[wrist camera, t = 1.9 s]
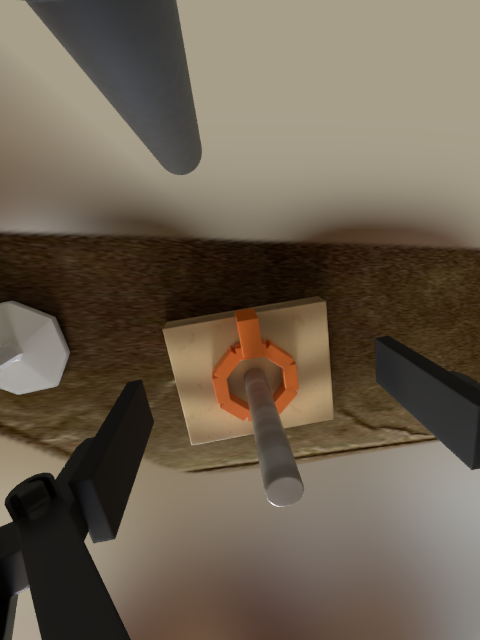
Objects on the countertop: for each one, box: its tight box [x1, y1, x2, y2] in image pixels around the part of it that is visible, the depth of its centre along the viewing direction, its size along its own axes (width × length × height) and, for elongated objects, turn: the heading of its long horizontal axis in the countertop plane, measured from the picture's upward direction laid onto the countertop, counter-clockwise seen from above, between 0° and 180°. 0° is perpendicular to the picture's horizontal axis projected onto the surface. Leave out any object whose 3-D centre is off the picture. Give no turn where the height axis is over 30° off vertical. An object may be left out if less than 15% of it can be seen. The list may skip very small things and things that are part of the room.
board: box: [163, 296, 334, 507], centre depth 21 cm, size 12×14×14 cm
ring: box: [212, 308, 299, 422], centre depth 24 cm, size 10×7×3 cm
